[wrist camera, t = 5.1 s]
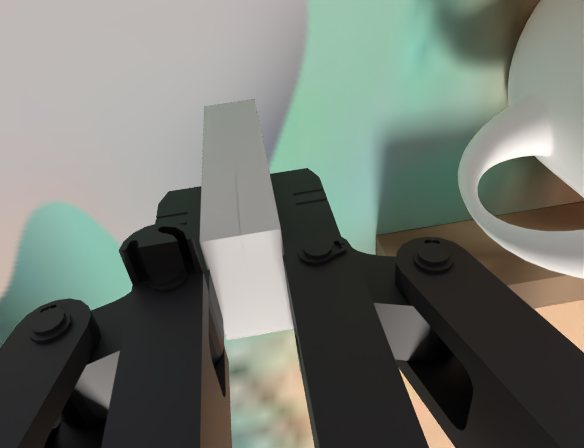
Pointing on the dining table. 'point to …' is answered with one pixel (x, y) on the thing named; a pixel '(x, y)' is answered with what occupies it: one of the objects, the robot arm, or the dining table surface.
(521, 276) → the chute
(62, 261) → the dining table surface
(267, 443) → the dining table surface
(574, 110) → the mug
